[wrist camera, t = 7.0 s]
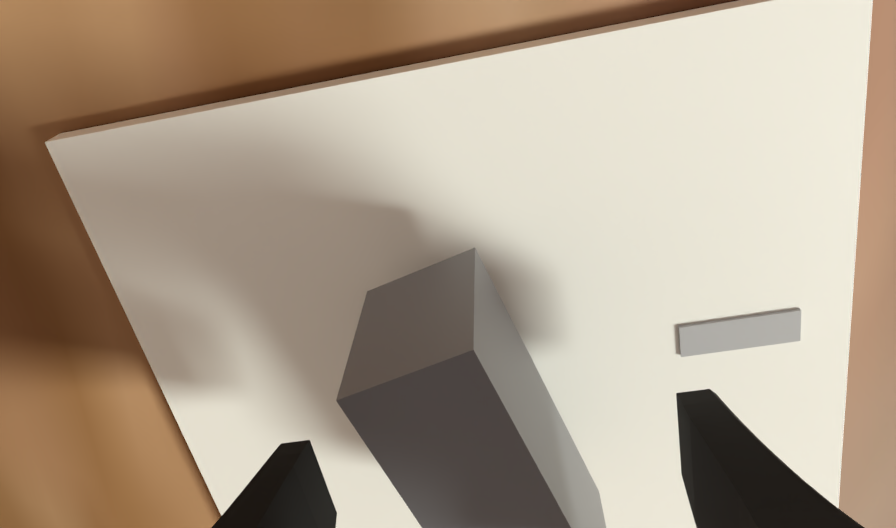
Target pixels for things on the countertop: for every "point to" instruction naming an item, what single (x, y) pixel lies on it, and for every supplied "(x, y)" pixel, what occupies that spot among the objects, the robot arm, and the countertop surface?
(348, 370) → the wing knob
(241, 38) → the countertop surface
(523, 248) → the board
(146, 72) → the countertop surface
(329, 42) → the countertop surface
